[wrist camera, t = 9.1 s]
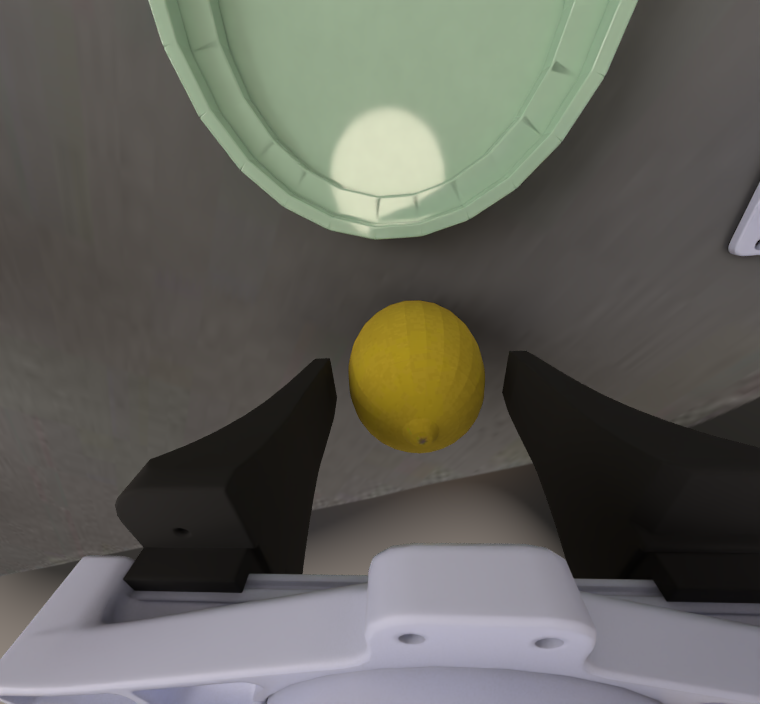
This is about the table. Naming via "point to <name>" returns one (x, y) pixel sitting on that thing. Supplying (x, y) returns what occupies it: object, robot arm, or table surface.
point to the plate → (390, 98)
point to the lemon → (416, 377)
